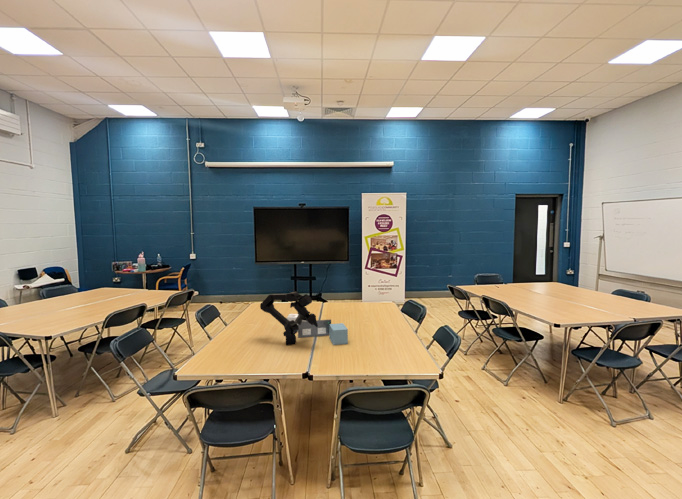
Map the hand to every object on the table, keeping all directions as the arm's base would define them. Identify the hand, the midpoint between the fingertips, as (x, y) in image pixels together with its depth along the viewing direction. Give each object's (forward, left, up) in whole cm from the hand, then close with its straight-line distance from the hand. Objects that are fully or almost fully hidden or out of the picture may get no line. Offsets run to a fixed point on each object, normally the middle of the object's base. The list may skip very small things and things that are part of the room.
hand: (314, 325), depth 212 cm
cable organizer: (-10, +32, -13) cm, 36 cm away
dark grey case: (+5, +5, -12) cm, 14 cm away
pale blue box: (+16, 0, -12) cm, 20 cm away
